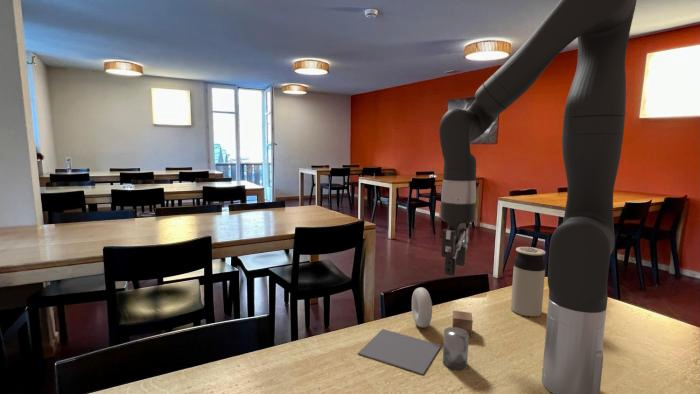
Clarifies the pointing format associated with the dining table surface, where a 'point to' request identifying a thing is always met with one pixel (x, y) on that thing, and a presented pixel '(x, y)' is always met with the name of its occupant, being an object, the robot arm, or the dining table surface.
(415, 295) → the donut
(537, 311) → the travel mug
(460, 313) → the walnut block
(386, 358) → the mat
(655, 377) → the dining table surface
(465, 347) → the grey cylinder
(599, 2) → the robot arm
